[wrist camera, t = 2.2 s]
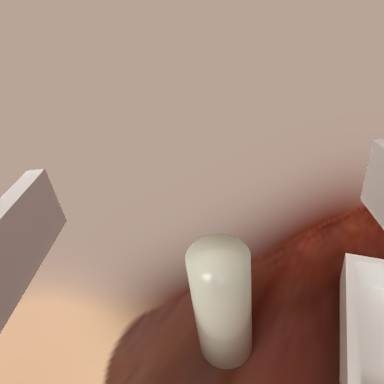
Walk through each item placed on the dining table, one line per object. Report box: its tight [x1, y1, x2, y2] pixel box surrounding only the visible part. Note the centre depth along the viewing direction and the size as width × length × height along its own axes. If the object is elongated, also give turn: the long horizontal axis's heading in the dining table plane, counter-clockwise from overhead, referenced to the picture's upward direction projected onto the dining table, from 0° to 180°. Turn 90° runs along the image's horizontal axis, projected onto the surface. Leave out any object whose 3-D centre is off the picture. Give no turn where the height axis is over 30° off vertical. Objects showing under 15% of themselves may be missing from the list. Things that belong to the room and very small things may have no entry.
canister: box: [185, 234, 252, 369], centre depth 32 cm, size 6×6×14 cm
